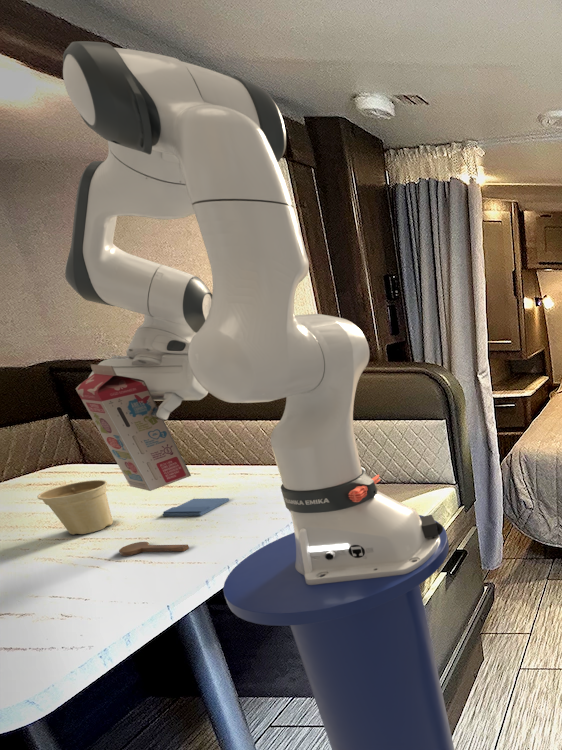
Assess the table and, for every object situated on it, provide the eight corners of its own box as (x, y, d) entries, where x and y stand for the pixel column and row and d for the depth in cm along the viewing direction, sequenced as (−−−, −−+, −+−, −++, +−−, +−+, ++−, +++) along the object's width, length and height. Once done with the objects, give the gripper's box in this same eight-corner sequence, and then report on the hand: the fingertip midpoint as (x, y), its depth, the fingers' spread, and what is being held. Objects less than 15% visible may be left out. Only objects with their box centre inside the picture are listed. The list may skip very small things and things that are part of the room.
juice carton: (170, 471, 99) (113, 359, 89) (191, 475, 96) (134, 361, 86) (130, 486, 93) (64, 369, 83) (150, 491, 91) (85, 370, 81)
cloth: (229, 500, 113) (228, 496, 112) (200, 515, 105) (199, 512, 105) (194, 501, 113) (193, 497, 112) (163, 516, 105) (161, 512, 105)
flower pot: (45, 535, 98) (24, 495, 95) (105, 515, 106) (88, 477, 103) (76, 542, 95) (55, 500, 92) (135, 520, 104) (118, 482, 100)
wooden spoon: (195, 544, 93) (194, 540, 93) (177, 555, 90) (175, 551, 89) (135, 545, 94) (133, 541, 93) (114, 556, 90) (112, 552, 89)
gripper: (90, 345, 92) (56, 410, 87) (200, 343, 92) (173, 408, 87) (122, 366, 98) (93, 428, 93) (226, 364, 98) (203, 426, 92)
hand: (133, 418), depth 90 cm, fingers closed on juice carton, 8 cm apart
